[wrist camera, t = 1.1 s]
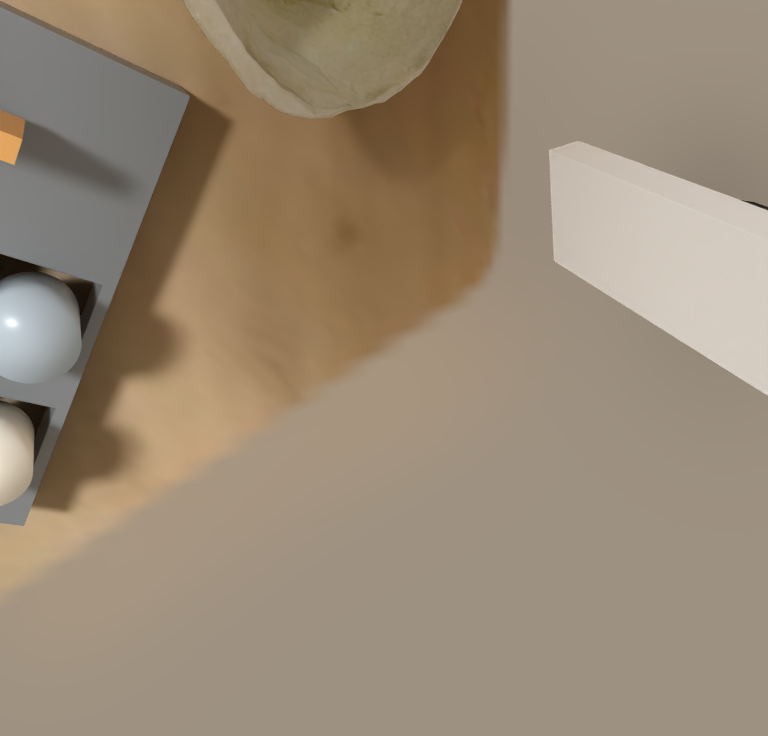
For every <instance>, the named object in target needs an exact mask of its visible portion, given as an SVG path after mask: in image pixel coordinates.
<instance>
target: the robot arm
mask: <svg viewBox="0 0 768 736" xmlns="http://www.w3.org/2000/svg"><path fill="white" fill-rule="evenodd" d="M549 166H550V188H551V207H552V208H551V211H552V233H553V255H554V262H556V263H558V264H559V265H561V266H563V267H564V268H566V269H567V270H569V271H570V272H572V273H574V274H575V275H577V276H578V277H580V278H581V279H583V280H585V281H586V282H588V283H589V284H591V285H593V286H594V287H596V288H597V289H599V290H601V291H602V292H604V293H605V294H607V295H609V296H610V297H612V298H613V299H615V300H617V301H618V302H620V303H621V304H623V305H624V306H626V307H628V308H629V309H631V310H632V311H634V312H636V313H637V314H639V315H640V316H642V317H644V318H645V319H647V320H648V321H650V322H651V323H653V324H655V325H656V326H658V327H659V328H661V329H663V330H664V331H666V332H667V333H669V334H670V335H672V336H674V337H675V338H677V339H678V340H680V341H682V342H683V343H685V344H686V345H688V346H690V347H691V348H693V349H695V350H696V351H698V352H699V353H701V354H702V355H704V356H705V357H707V358H709V359H710V360H712V361H713V362H715V363H717V364H718V365H720V366H721V367H723V368H725V369H726V370H728V371H729V372H731V373H732V374H734V375H736V376H737V377H739V378H741V379H742V380H744V381H745V382H747V383H749V384H750V385H752V386H753V387H755V388H756V389H758V390H759V391H761V392H763V393H764V394H766V395H767V396H768V207H766V206H763V205H760V204H758V203H755V202H749V201H743V200H738V199H736V198H733V197H730V196H727V195H725V194H722V193H719V192H717V191H714V190H711V189H708V188H706V187H703V186H700V185H697V184H695V183H692V182H689V181H687V180H684V179H681V178H679V177H676V176H673V175H671V174H668V173H665V172H662V171H660V170H657V169H654V168H652V167H649V166H646V165H643V164H641V163H638V162H635V161H632V160H630V159H627V158H624V157H621V156H619V155H616V154H613V153H611V152H608V151H605V150H603V149H600V148H597V147H595V146H592V145H589V144H587V143H584V142H581V141H575V142H572V143H569V144H566V145H562V146H559V147H556V148H553V149H550V150H549Z"/></svg>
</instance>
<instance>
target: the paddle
mask: <svg viewBox="0 0 768 736" xmlns="http://www.w3.org/2000/svg"><path fill="white" fill-rule="evenodd" d="M24 126H25V119H22V118H20V117H17V116H15V115H12V114H10V113H7V112H5V111H2V110H0V160H2V161H5V162H7V163H10V164H13V165H14V164H15V161H16V158H17V155H18V152H19V149H20V145H21V142H22V139H23V133H24Z"/></svg>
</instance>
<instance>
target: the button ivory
mask: <svg viewBox="0 0 768 736" xmlns="http://www.w3.org/2000/svg"><path fill="white" fill-rule="evenodd" d="M33 460H34V427H33V424H32V421H31V420H30V418H29V417H28V416H27V414H26V413H25V412H24V411H22V410H21V409H20V408H18V407H16V406H14V405H13V404H10V403H7V402H4V401H0V506H2V505H5V504H8V503H10V502H12V501H14V500H15V499H17V498H18V497H19V496H21V495H22V494H23V493H24V492H25V491H26V490H27V488H28V487H29V485H30V483H31V480H32V477H33Z"/></svg>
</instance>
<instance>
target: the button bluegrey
mask: <svg viewBox="0 0 768 736" xmlns="http://www.w3.org/2000/svg"><path fill="white" fill-rule="evenodd" d="M81 346H82V339H81V326H80V313H79V305H78V302H77V299H76V297H75V295H74V294H73V292H72V291H71V289H70V288H69V287H68V286H67V285H66V284H64V283H63V282H62V281H60V280H59V279H57V278H55V277H53V276H51V275H48V274H45V273H40V272H19V273H15V274H12V275H9V276H7V277H5V278H3V279H1V280H0V376H2V377H4V378H6V379H9V380H12V381H15V382H20V383H28V384H35V383H44V382H47V381H51V380H54V379H56V378H58V377H60V376H62V375H63V374H65V373H66V372H67V371H69V370H70V369H71V368H72V366H73V365H74V364H75V363H76V361H77V359H78V357H79V355H80V352H81Z"/></svg>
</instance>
